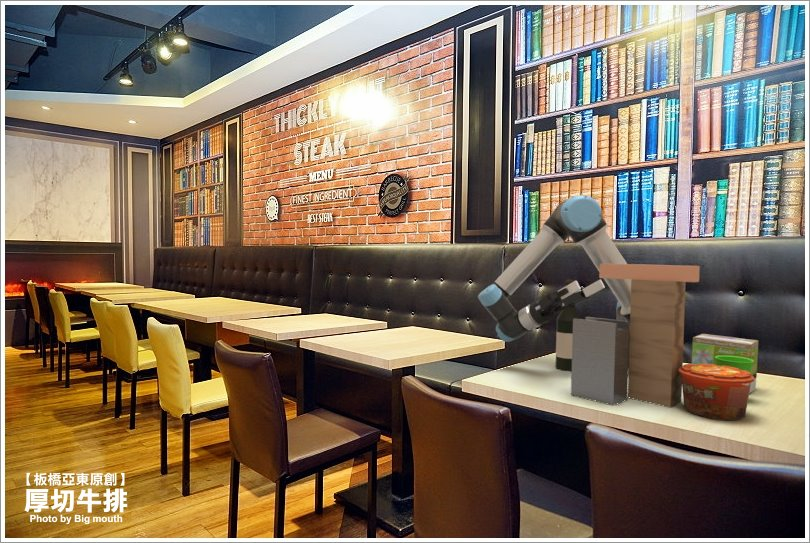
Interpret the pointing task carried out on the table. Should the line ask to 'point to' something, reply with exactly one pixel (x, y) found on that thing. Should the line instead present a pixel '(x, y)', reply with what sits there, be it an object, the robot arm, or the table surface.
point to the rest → (600, 359)
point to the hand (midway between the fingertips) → (590, 284)
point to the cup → (735, 362)
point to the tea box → (724, 350)
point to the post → (656, 341)
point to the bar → (650, 272)
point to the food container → (715, 390)
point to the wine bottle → (565, 336)
